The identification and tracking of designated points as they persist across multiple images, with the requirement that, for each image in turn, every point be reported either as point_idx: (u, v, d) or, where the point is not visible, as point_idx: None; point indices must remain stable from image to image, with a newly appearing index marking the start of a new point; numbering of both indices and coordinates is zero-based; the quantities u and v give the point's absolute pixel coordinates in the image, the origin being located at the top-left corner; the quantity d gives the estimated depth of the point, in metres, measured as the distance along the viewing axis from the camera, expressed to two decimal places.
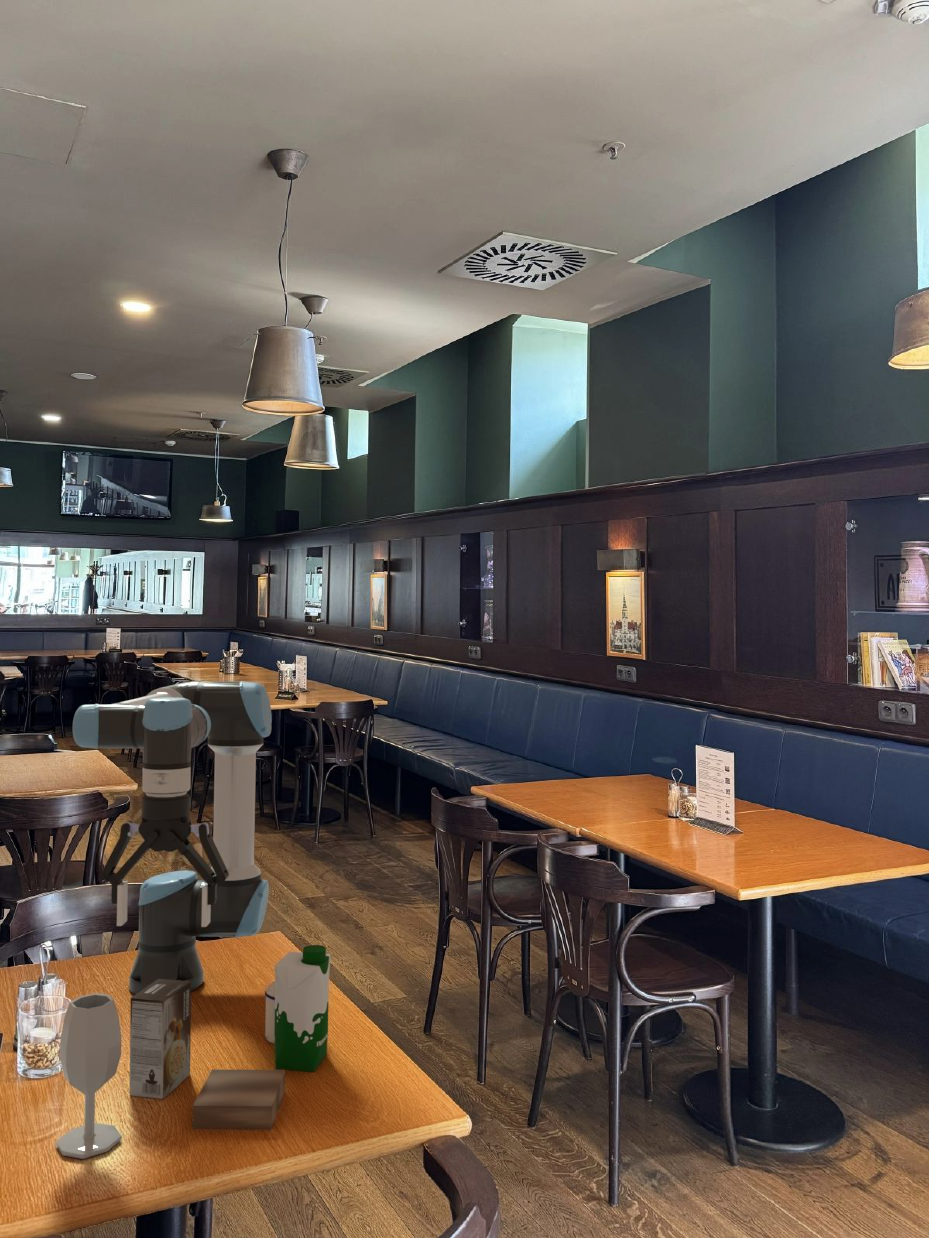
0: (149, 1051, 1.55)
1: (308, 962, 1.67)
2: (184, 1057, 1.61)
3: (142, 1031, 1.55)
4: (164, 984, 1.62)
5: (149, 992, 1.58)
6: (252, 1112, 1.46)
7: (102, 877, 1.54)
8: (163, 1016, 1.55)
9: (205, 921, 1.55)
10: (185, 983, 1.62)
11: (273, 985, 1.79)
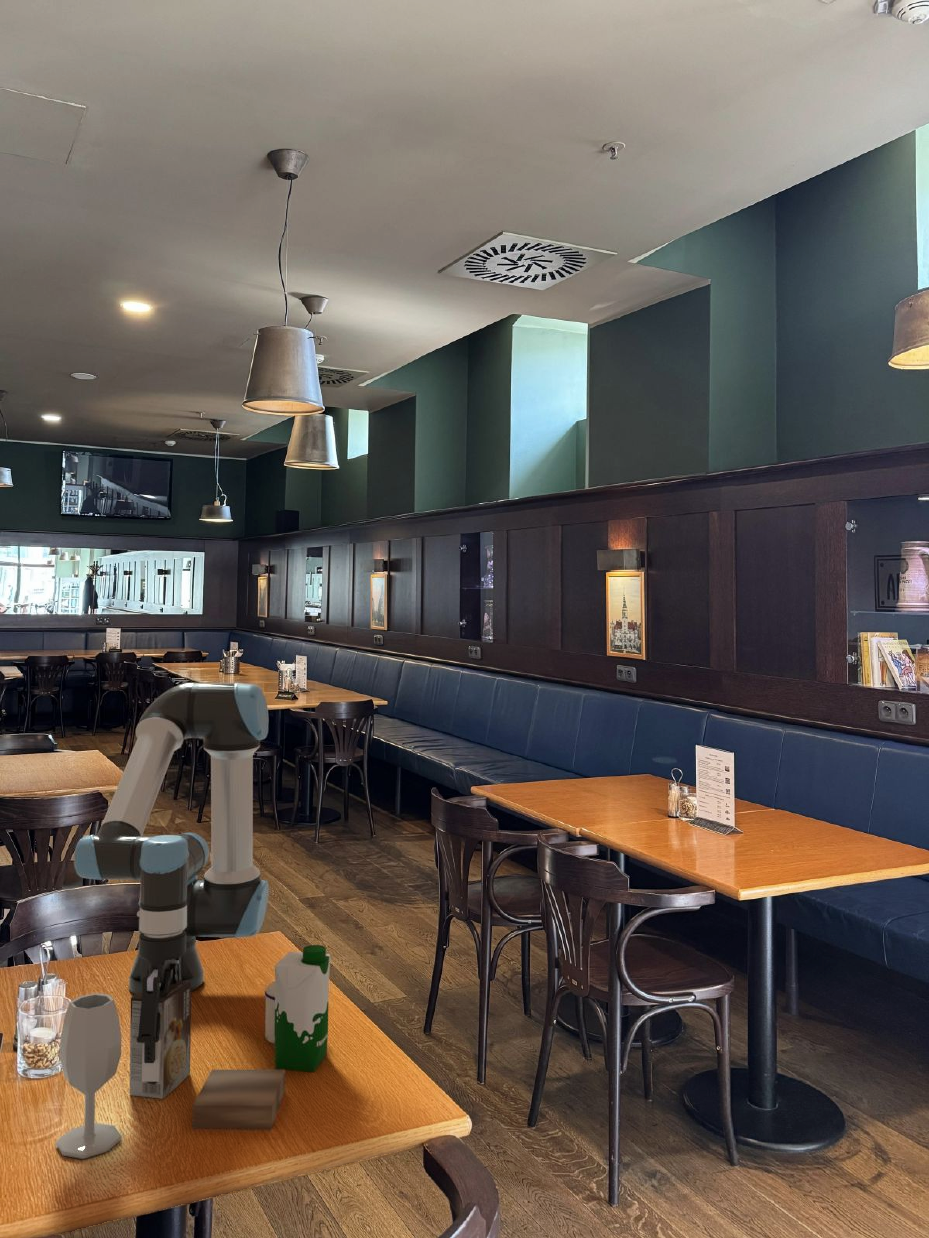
0: None
1: (308, 962, 1.67)
2: (184, 1057, 1.61)
3: None
4: None
5: None
6: (252, 1112, 1.46)
7: None
8: (163, 1015, 1.55)
9: None
10: (185, 983, 1.62)
11: (273, 985, 1.79)
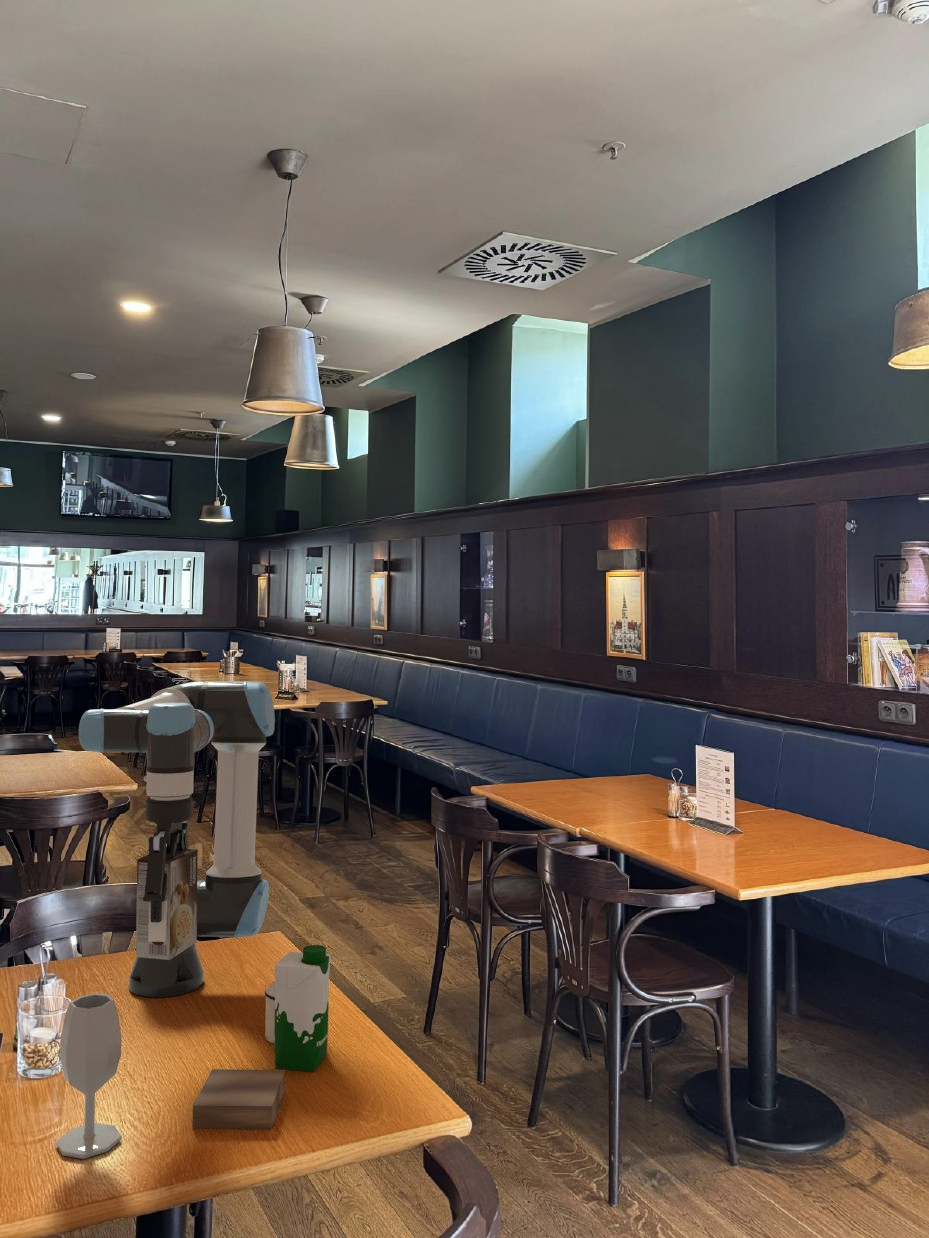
0: None
1: (308, 962, 1.67)
2: (191, 923, 1.61)
3: None
4: None
5: None
6: (252, 1112, 1.46)
7: None
8: (169, 876, 1.55)
9: None
10: (191, 850, 1.62)
11: (273, 985, 1.79)
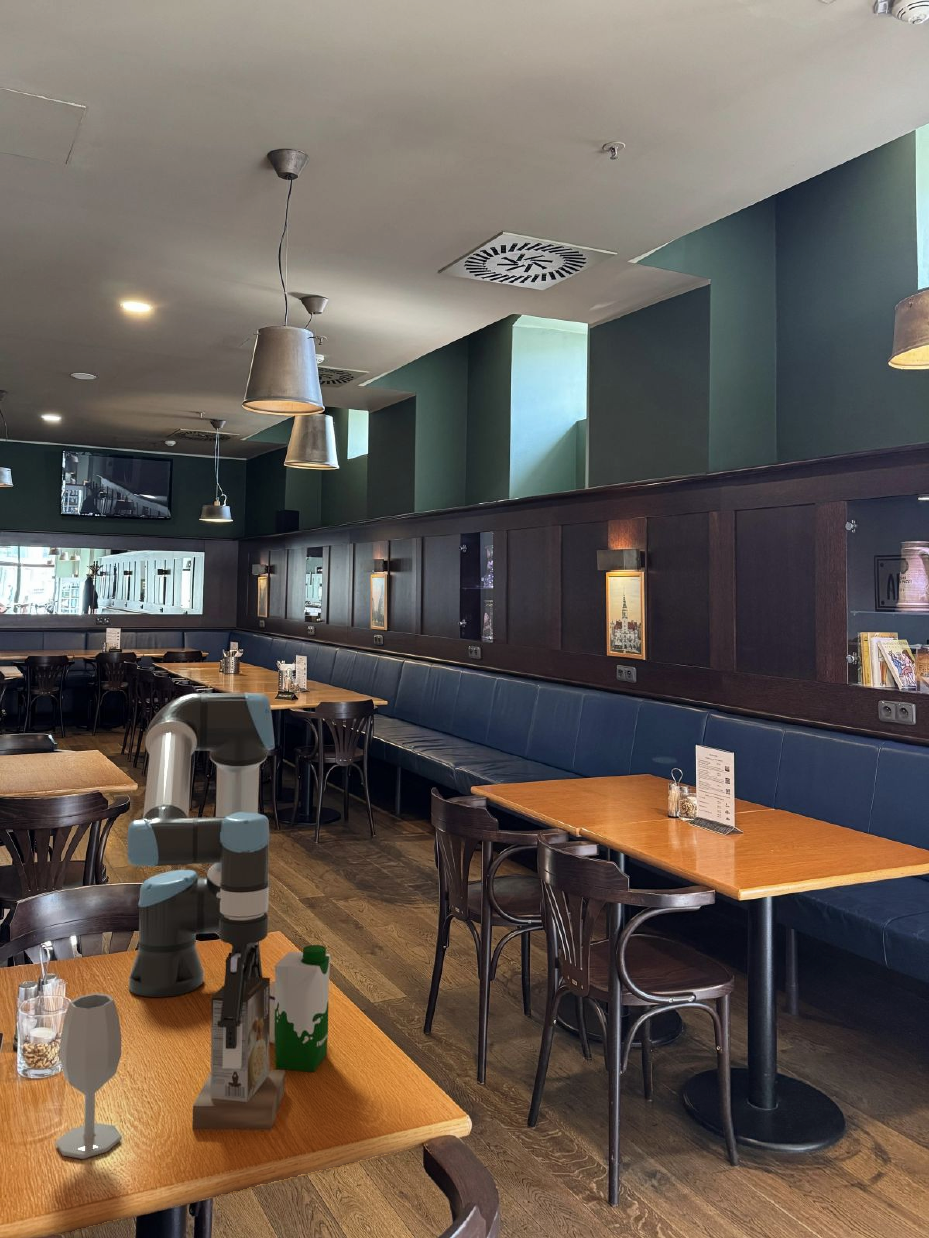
0: None
1: (308, 962, 1.67)
2: (264, 1057, 1.53)
3: None
4: None
5: None
6: (252, 1113, 1.46)
7: None
8: (247, 1015, 1.47)
9: (223, 1062, 1.45)
10: (264, 980, 1.54)
11: (273, 985, 1.79)
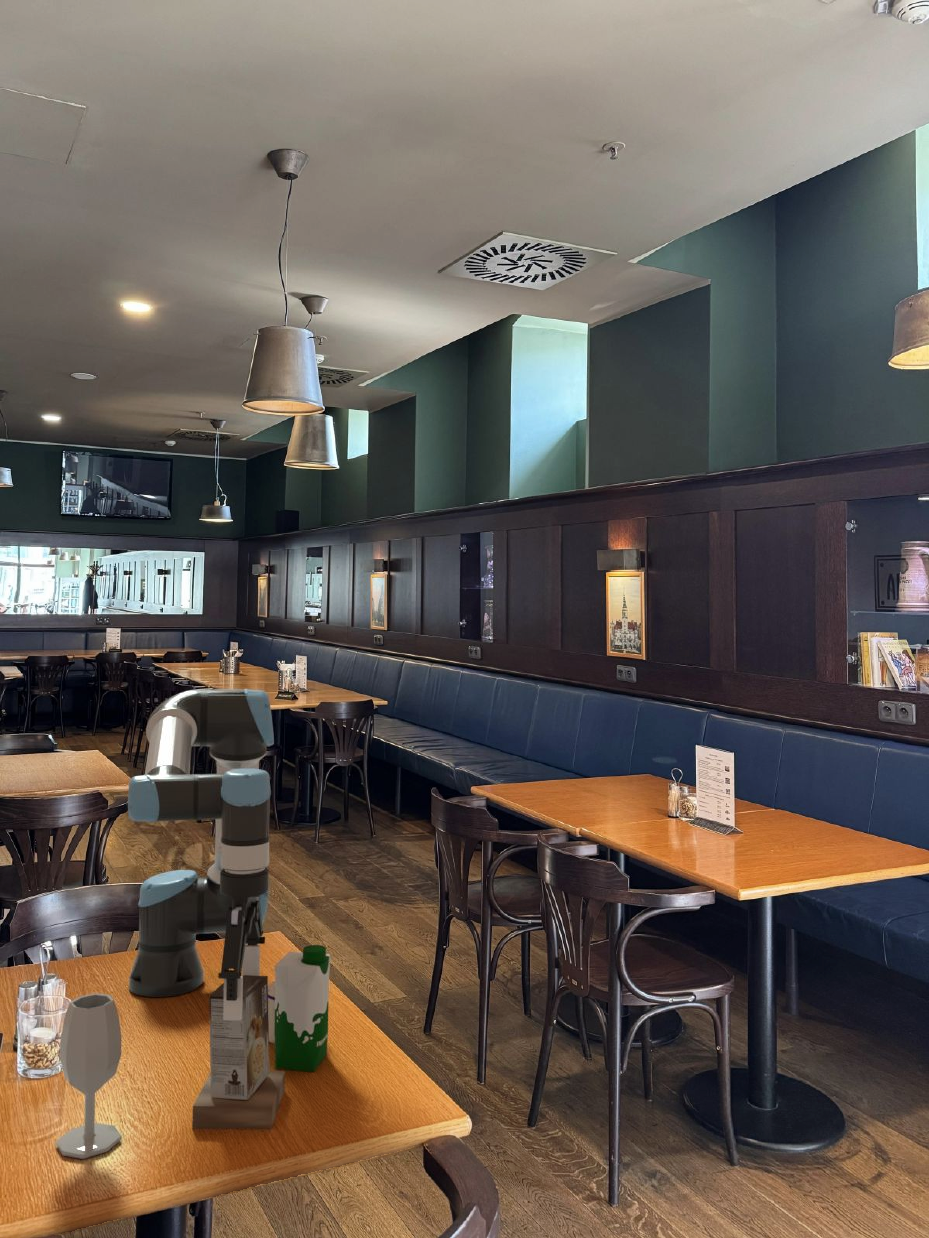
0: (231, 1050, 1.48)
1: (308, 962, 1.67)
2: (264, 1055, 1.54)
3: (223, 1030, 1.48)
4: None
5: None
6: (252, 1113, 1.46)
7: None
8: (245, 1013, 1.47)
9: (224, 1014, 1.45)
10: (262, 978, 1.55)
11: (273, 985, 1.79)
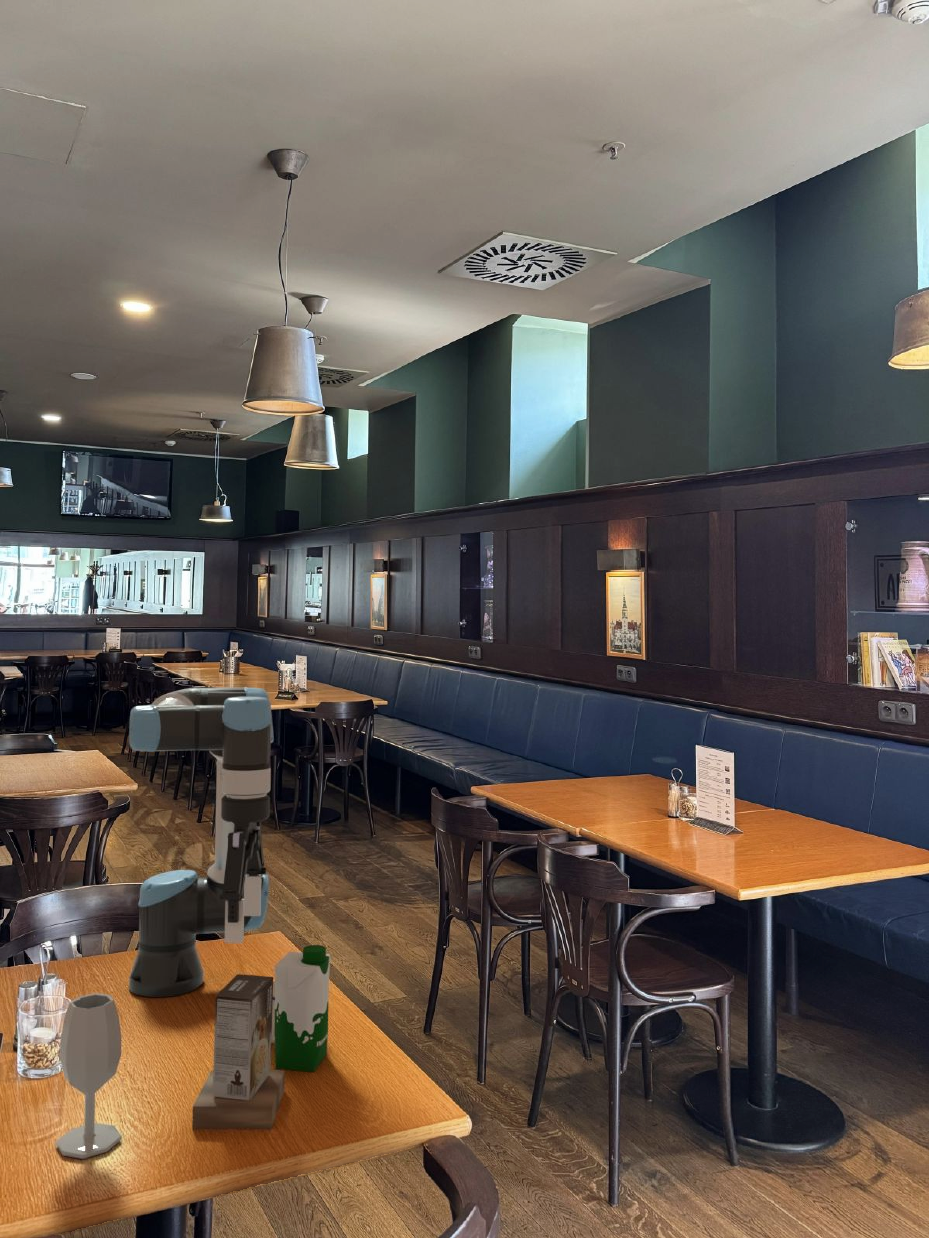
0: (235, 1051, 1.48)
1: (308, 962, 1.67)
2: (266, 1056, 1.54)
3: (228, 1030, 1.48)
4: (246, 980, 1.54)
5: (233, 989, 1.50)
6: (252, 1113, 1.46)
7: None
8: (251, 1015, 1.47)
9: (225, 937, 1.45)
10: (267, 979, 1.55)
11: (273, 985, 1.79)
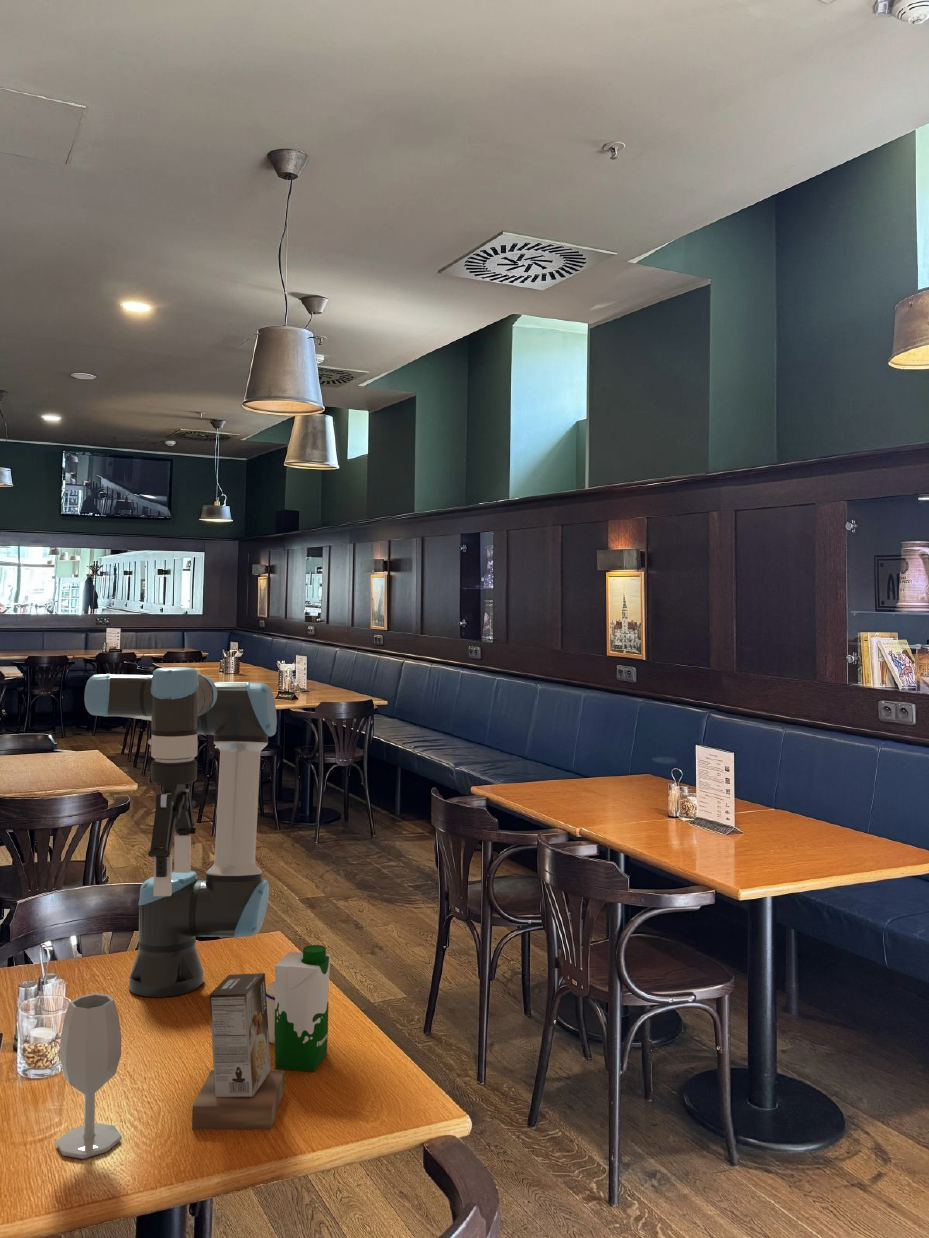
0: (234, 1048, 1.48)
1: (308, 962, 1.67)
2: (265, 1052, 1.54)
3: (224, 1028, 1.48)
4: (238, 978, 1.55)
5: (226, 987, 1.51)
6: (251, 1113, 1.46)
7: None
8: (246, 1009, 1.48)
9: (154, 890, 1.56)
10: (259, 975, 1.56)
11: (273, 985, 1.79)
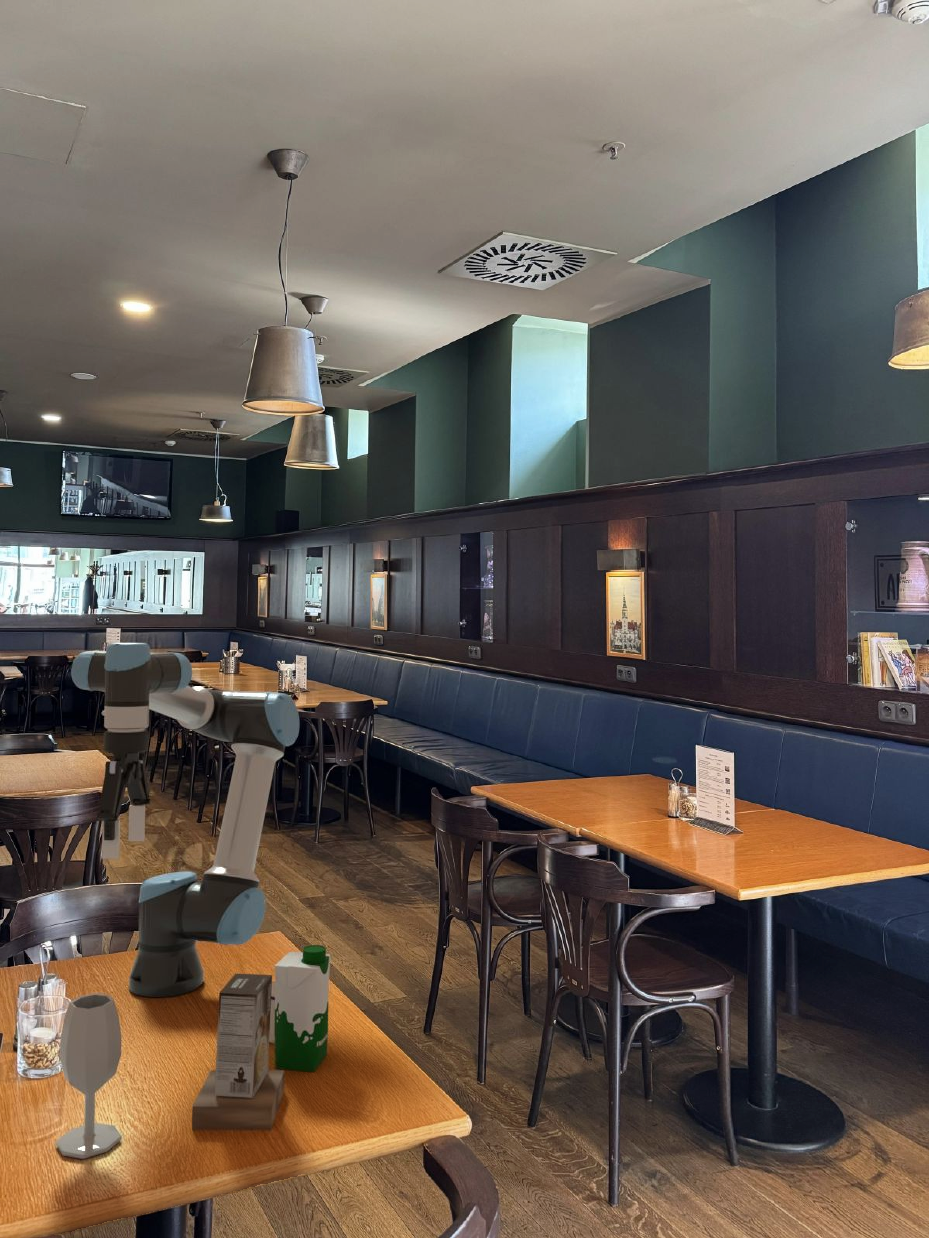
0: (239, 1048, 1.48)
1: (308, 962, 1.67)
2: (266, 1054, 1.55)
3: (231, 1027, 1.48)
4: (246, 978, 1.55)
5: (235, 986, 1.51)
6: (251, 1113, 1.46)
7: None
8: (255, 1010, 1.48)
9: (102, 853, 1.63)
10: (267, 977, 1.56)
11: (273, 985, 1.79)
